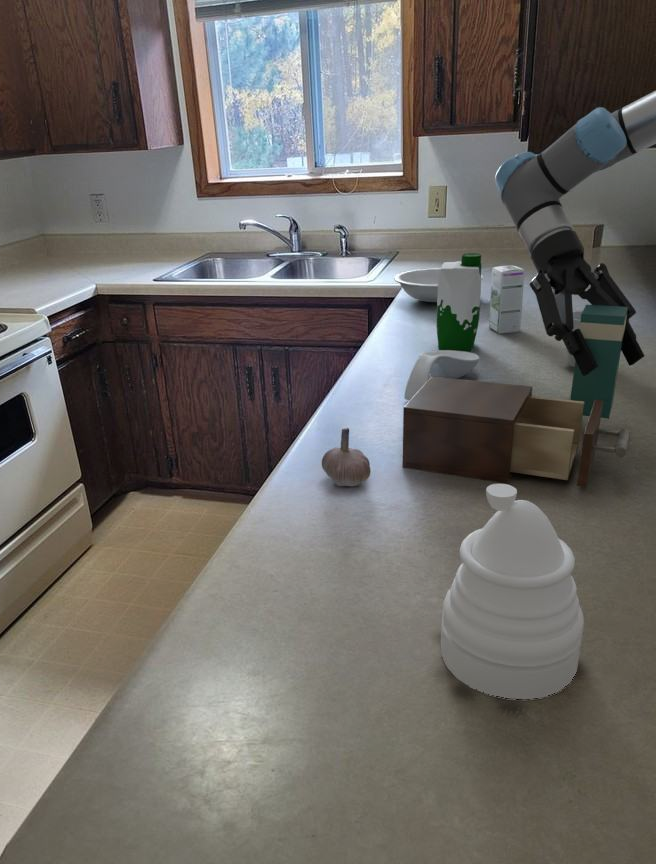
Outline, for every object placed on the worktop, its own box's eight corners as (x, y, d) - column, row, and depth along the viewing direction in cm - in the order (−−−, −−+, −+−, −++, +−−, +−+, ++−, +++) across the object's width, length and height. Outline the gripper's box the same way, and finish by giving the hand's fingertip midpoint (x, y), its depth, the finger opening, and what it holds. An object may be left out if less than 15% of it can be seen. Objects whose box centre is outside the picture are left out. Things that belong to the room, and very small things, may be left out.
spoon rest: (430, 363, 155) (431, 329, 152) (485, 369, 150) (487, 334, 147) (387, 399, 137) (387, 362, 133) (448, 407, 131) (450, 369, 128)
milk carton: (475, 353, 159) (481, 258, 150) (433, 352, 162) (436, 258, 153) (478, 342, 167) (484, 251, 158) (438, 341, 169) (441, 251, 160)
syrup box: (521, 331, 173) (526, 268, 166) (497, 334, 172) (501, 270, 166) (510, 326, 178) (515, 264, 172) (487, 328, 177) (491, 266, 171)
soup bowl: (376, 301, 208) (376, 277, 205) (435, 287, 220) (436, 264, 217) (440, 315, 190) (441, 289, 187) (500, 299, 203) (501, 274, 200)
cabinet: (526, 444, 116) (532, 386, 111) (508, 483, 104) (513, 420, 100) (430, 431, 122) (432, 376, 118) (402, 467, 110) (403, 407, 106)
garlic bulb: (333, 465, 112) (332, 416, 108) (379, 472, 109) (379, 422, 106) (313, 486, 106) (311, 435, 102) (361, 494, 103) (360, 442, 99)
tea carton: (612, 405, 119) (628, 306, 112) (609, 418, 114) (625, 316, 107) (572, 401, 122) (585, 304, 114) (567, 414, 117) (581, 313, 110)
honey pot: (454, 703, 66) (465, 529, 58) (430, 616, 78) (436, 461, 70) (598, 697, 66) (629, 522, 58) (553, 611, 77) (573, 455, 69)
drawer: (627, 453, 109) (635, 403, 106) (619, 492, 98) (628, 438, 95) (498, 436, 117) (502, 390, 113) (479, 471, 106) (482, 421, 102)
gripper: (588, 250, 125) (649, 366, 119) (485, 265, 117) (544, 389, 111) (617, 220, 118) (683, 342, 112) (510, 234, 110) (574, 365, 104)
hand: (614, 365), depth 111 cm, fingers closed on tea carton, 9 cm apart
